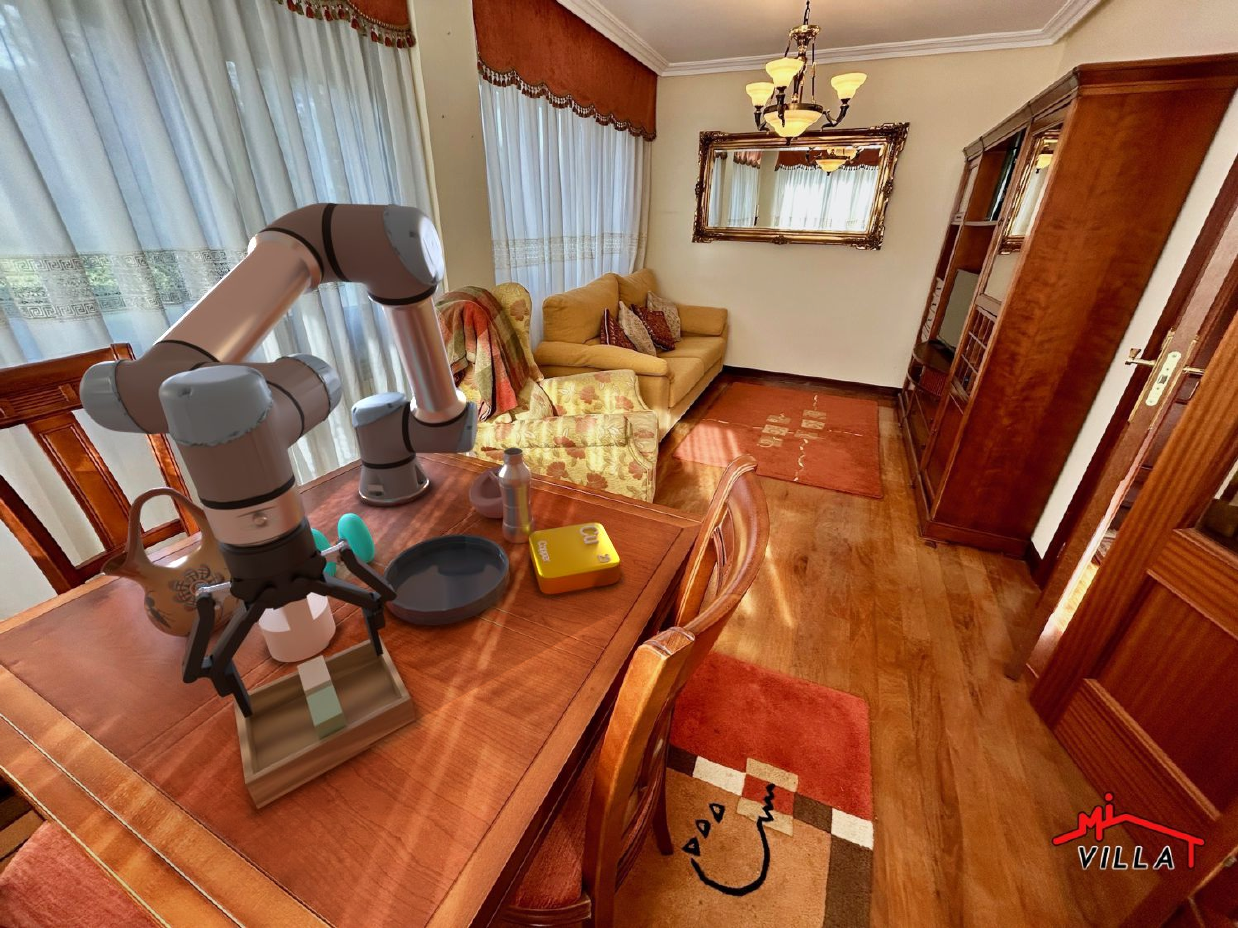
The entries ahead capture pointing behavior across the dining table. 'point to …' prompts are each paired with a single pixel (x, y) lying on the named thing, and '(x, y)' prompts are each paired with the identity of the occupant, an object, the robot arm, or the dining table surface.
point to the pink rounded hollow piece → (487, 494)
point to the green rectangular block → (326, 712)
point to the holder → (284, 729)
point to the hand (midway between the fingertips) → (316, 676)
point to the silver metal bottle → (516, 497)
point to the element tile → (573, 558)
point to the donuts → (348, 539)
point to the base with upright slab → (298, 628)
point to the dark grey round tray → (447, 579)
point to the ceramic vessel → (173, 572)
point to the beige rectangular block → (314, 675)
